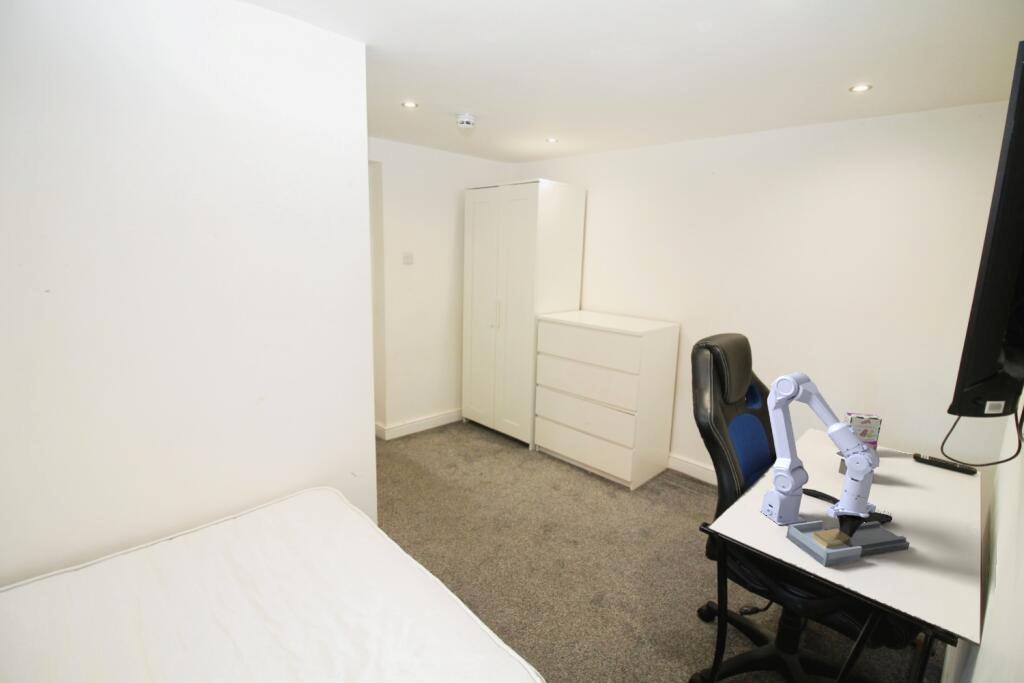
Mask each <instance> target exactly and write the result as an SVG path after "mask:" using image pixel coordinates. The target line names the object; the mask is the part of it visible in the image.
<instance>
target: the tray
mask: <svg viewBox="0 0 1024 683" xmlns="http://www.w3.org/2000/svg"><path fill="white" fill-rule="evenodd" d="M787 525H788V526H787V532H786V536H785V538H786V539H787V538H788V540H789V541H790V542H792V543H793V544H794V545H796V547H798V548H799V549H800V550H802V551H804V552H805V553H806V554H807V555H809V556H810V557H811V558H812V559H814V560H815V561H816V562H818V563H819V564H820V565H822V566H823V567H825V568H826V567H830V566H831V567H832V566H837V565H841V564H848V563H853V562H859V561H860V558H861V557H860V555H861V550H862V547H861V546H856V547H849V546H848V545H841V546H835V547H829V548H825V547H824V546H823V545H821V544H820V543H818V542H817V541H816V540H814V539H813V536H814V532H819V531H825V530H824V528H823V525H824V521H823V520H814V521H808V522H799V523H792V524H787Z"/></svg>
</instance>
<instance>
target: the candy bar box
mask: <svg viewBox="0 0 1024 683" xmlns="http://www.w3.org/2000/svg"><path fill="white" fill-rule="evenodd" d="M882 420H883V418H881V417H879V416H878V415H876V414H870V413H869V414H868V413H859V412H858V413H855V412H845V414H844V421H843V423H846V424H849V426H850V427H851V428H852V427H854V428H855V430H856V432H855V433H856V434H857V436H858V437H859V438H860V439H861V441H862V442H865V443H868V444H871V445H875V444H878V442H879V435H880V430H881V425H882Z"/></svg>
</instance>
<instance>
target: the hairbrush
mask: <svg viewBox="0 0 1024 683" xmlns="http://www.w3.org/2000/svg"><path fill="white" fill-rule="evenodd" d="M802 490H803V493H804V494H805V495H808V496H814V497H818V498H823V499H824V500H828V501H830V502H832V503H833V505H835V504H836V503H838V502H839V501H840V499H838V498H837V497H834V496H832V495H830V494H827V493H825V492H822V491H819V490H816V489H813V488H807V487H806V488H804V487H802ZM803 493H802V494H803ZM804 494H803V495H804ZM876 510H877V509H875V512H870V511H869V512H868V514H869V517H866V521H865V523H866V522H874V521H878V522H880V523H881V524H880V525H885V524H888V523H891V522H892V521H893V516H892V513H891V512H888V511H887V513H886V511H885V510H884V511H883V512H882V513H881V512H879V510H877V511H876Z"/></svg>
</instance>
